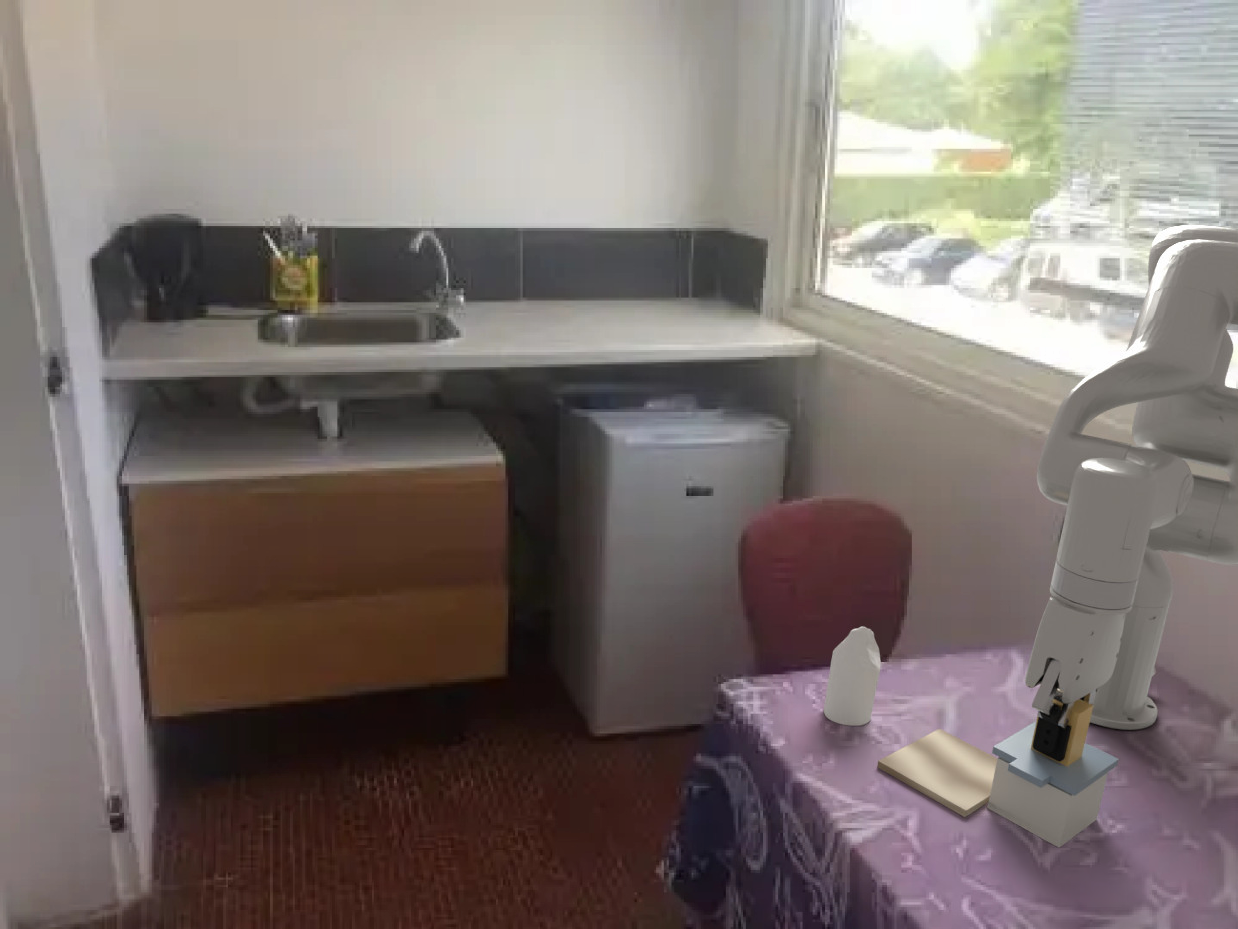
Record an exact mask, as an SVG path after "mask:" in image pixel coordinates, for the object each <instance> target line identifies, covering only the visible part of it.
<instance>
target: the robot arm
mask: <svg viewBox="0 0 1238 929" xmlns="http://www.w3.org/2000/svg"><path fill="white" fill-rule="evenodd" d="M1147 266H1148V267H1147V269H1148V270H1147V276H1148V277H1147V278H1148V280H1147V281H1148V288H1147V291H1146V294H1145V297H1144V299H1143V302H1142V305H1141V308H1140V311H1139V313H1138V316H1137V320H1136V323H1135V325H1134V328H1133V330H1132V333H1131V336H1130V339H1129V343H1128V345H1127V348H1126V350H1125V351H1124V353H1122V354H1121V355H1119V356H1116V357H1115V358H1113V359H1112V360H1109V361H1108V362H1106V363H1104V364H1102V365H1100V366H1098V367H1097V368H1096V369H1094V370H1092V371H1091V372H1090V373H1089V374H1088V375H1086V376H1085V377H1083V378H1082V379H1081V380H1080V381H1079V382H1078V383H1077V384H1075V386H1073V387H1072V389H1070V391H1069V392H1068V393H1067V394H1066V396H1065V397H1064V399H1063V400H1062V402H1061V403H1060V405H1059V406H1058V408H1057V411H1056V413H1055V416H1054V419H1053V421H1052V424H1051V425H1050V426H1051V427H1050V429H1049V432H1048V434H1047V438H1046V440H1045V442H1044V445H1043V448H1042V451H1041V453H1040V457H1039V461H1038V463H1037V464H1038V465H1037V469H1036V481H1037V482H1036V483H1037V487H1038V489H1039V491H1040V493H1041V494H1042V495H1043V496H1044V497H1045V498H1046V499H1048V500H1049V501H1051V502H1053V503H1055V504H1060V505H1063V506H1066V512H1065V516H1064V521H1063V526H1062V530H1061V531H1062V532H1061V535H1060V540H1059V544H1058V550H1057V554H1056V559H1055V565H1054V569H1053V574H1052V577H1051V578H1052V579H1051V582H1050V587H1049V592H1050V595H1051V597H1049V600H1048V602H1047V604H1046V607H1045V609H1044V612H1043V614H1042V618H1041V619H1040V623H1039V626H1038V628H1037V632H1036V636H1035V639H1034V642H1033V647H1032V651H1031V653H1030V658H1029V660H1028V661H1029V662H1028V665H1027V670H1026V674H1025V680H1024V683H1025V686H1026V687H1027V688H1029V689H1030V688H1031V689H1033V688H1035V687H1037V686H1039V687H1038V689H1037V691H1036V695H1035V696H1034V698H1033V701H1032V703H1031V707H1032V708H1033V709H1034V710H1037V716H1038V717H1039V718H1038V722H1037V727H1036V732H1035V736H1034V741H1033V748H1034V749H1035V750H1036V751H1038V752H1040V753H1042V754H1044V755H1046V756H1048V757H1050V758H1052V759H1054V760H1056V761H1059V762H1060V761H1062V760H1064V758H1065V754H1066V749H1067V745H1068V740H1069V736H1070V732H1071V726H1069V725H1068V723H1069V719H1070V715H1071V712H1072V708H1073V704H1074V701H1076V700H1078V699H1080V700H1083V701H1085V702H1087V703H1089V704H1092V705H1093V710H1092V714H1091V718H1090V723H1089V724H1094V725H1097V726H1100V727H1101V726H1102V727H1105V728H1110V729H1117V730H1129V731H1131V730H1142V729H1146V728H1148V727H1150V726H1152V725H1153V724H1154V723H1156V720H1157V717H1158V707H1157V705H1156V704H1155V703H1154V701H1153V700H1152V698H1150V697H1149V696H1148V693H1149V690H1150V685H1151V682H1152V677H1153V676H1154V675H1156V671H1157V670H1156V667H1155V665H1156V661H1157V658H1158V654H1159V649H1160V645H1161V642H1162V637H1163V633H1164V629H1165V625H1166V622H1167V616H1168V613H1169V609H1170V605H1171V601H1172V598H1173V593H1174V580H1173V576H1172V573H1171V572H1172V571H1171V570H1170V568H1169V565H1168V564H1167V562H1166V560H1165V557H1164V556H1163V554H1162V552H1161V551H1163V552H1168V553H1169V552H1170V553H1174V554H1179V555H1182V556H1186V557H1189V558H1195V559H1198V560H1202V561H1206V562H1211V563H1214V564H1215V563H1216V564H1221V565H1226V566H1237V565H1238V388H1235V387H1230V386H1227V385H1226V377H1227V375H1228V371H1229V368H1230V364H1231V362H1232V358H1233V354H1234V344H1233V340H1232V338H1231V335H1230V334H1229V331H1228V329H1227V326H1228V325H1230V324H1231V325H1232V324H1233V325H1238V228H1234V227H1223V226H1213V225H1212V226H1211V225H1199V224H1197V225H1195V224H1194V225H1190V224H1189V225H1179V226H1178V225H1177V226H1172V227H1168V228H1166V229H1164V230H1162V231H1160V232H1159V233H1158V234H1157V235H1156V236H1155V238H1154V240H1153V242H1152V244H1151V246H1150V251H1149V255H1148V265H1147ZM1132 404H1136V407H1135V412H1134V417H1133V421H1132V427H1131V432H1132V433H1131V435H1132V439H1133V442H1134V444H1135V445H1133V444H1132V443H1128V442H1127V443H1126V442H1121V441H1117V440H1112V439H1107V438H1103V437H1102V438H1101V437H1097V436H1091V435H1086V434H1082V433H1083V432H1084V430H1085V428H1086V427H1087V425H1089V424H1090V422H1091V421H1093V420H1095V419H1096V418H1097V417H1098V416H1100V415H1101V414H1104V413H1105V412H1108V411H1110V410H1113V409H1115V408H1116V409H1117V408H1119V407H1122V406H1126V405H1127V406H1128V405H1132ZM1188 463H1191V464H1196V465H1201V466H1206V467H1210V468H1211V467H1212V468H1215V469H1220V470H1222V471H1224V472H1225V473H1226V474H1227V475H1228V477H1229V481H1227V480H1224V479H1219V478H1214V477H1209V476H1205V475H1199V474H1194V473H1192V470H1191V468H1190V466H1189V465H1188ZM1057 689H1058V690H1060V691H1062V692H1060V691H1058V690H1057ZM1053 699H1055V700H1057V701H1059V702H1062V703H1064V704H1063V707H1062V710H1061V709H1060V707H1059V706H1058V705H1055V704H1053Z"/></svg>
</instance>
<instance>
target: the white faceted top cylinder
mask: <svg viewBox="0 0 1238 929" xmlns="http://www.w3.org/2000/svg"><path fill="white" fill-rule="evenodd" d="M881 663H882V662H881V655H880V648H879V645H878V644H877V641H876V639H875V633H874V631H872V629H871V628H867V627H866V626H860V627H858V628H853V629H851V630H850V632H849V633H848V635H847V636H846V637H845V638H844V640H843V641H841V642H840V643H839V644H838V645H837V646H836V647H835V648H834V649H833V651H832V657H831V661H830V666H829V668H830V669H829V673H828V674H829V675H828V680H827V687H826V694H825V700H824V705H823V713H824V715H825V717H826V718H827V719H828V720H830V721H831V722H833V723H836V724H840V725H844V726H854V727H856V726H860V727H861V726H863V725H867V724H868V723H869V722H870V721H871V720H872V719H871V718H872V713H873V708H874V704H875V697H876V692H877V688H878V682H879V678H880V673H881V665H882V664H881Z"/></svg>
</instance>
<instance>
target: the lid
mask: <svg viewBox="0 0 1238 929" xmlns="http://www.w3.org/2000/svg"><path fill="white" fill-rule="evenodd" d="M1057 690H1058V689H1057ZM1058 691H1060V690H1058ZM1060 692H1062V691H1060ZM1053 704H1055V705H1058V706H1059V707H1060V709H1061V710H1062V707H1063V704H1064V703H1062V702H1059V701H1057V700H1055V699H1053ZM1092 710H1093V705H1092V704H1089V703H1087V702H1085V701H1083V700H1080V699H1078V700H1076V701H1074V704H1073V708H1072V712H1071V715H1070V719H1069V723H1068V725H1069V726H1071V732H1070V736H1069V740H1068V745H1067V749H1066V754H1065V758H1064V760H1062V761H1060V762H1059V761H1056V760H1054V759H1052V758H1050V757H1048V756H1046V755H1044V754H1042V753H1040V752H1038V751H1036V750H1035V749H1034V748H1033V741H1034V736H1035V732H1036V727H1037V722H1038V718H1039V717H1038V715H1037V718H1036V721H1033V722H1032V723H1031V724H1029V725H1027V726H1025V727H1024V728H1022V729H1020V730H1019V731H1016V732H1015V733H1013V734H1012V735H1010V736H1009V737H1006V738H1005V739H1004V740H1001V741H1000V742H999V743H997V744H995V745H993V748H992V751H991V752H992V753H991V754H993V755H995V756H996V757H998V758H999V757H1000V758H1002V759H1004V760H1006V761H1008V762H1010V764H1009V767H1008V771H1009V772H1011V773H1013V774H1015V775H1017V776H1019V777H1021V778H1023V779H1025V780H1027V781H1028V782H1030V783H1032V784H1034V785H1036V786H1038V787H1040V788H1042V787H1043V786H1045V785H1046V784H1048V783H1051V784H1053V785H1055V786H1057V787H1059V788H1061V789H1063V790H1064V791H1066V792H1068V793H1070V794H1072V795H1074V796H1075V795H1077V794H1078V793H1080V792H1081V791H1082V790H1084V789H1085V788H1087V787H1088V786H1089V785H1091V784H1092V783H1094V782H1095V781H1096V780H1098V779H1099V778H1101V777H1102V776H1104V775H1105V774H1106V773H1108V774H1109V772H1111V771H1112V770H1113V769H1114V768H1116V767H1118V764H1119V760H1120V759H1119V758H1118V757H1115V756H1113V755H1111V754H1109V753H1107V752H1105V751H1103V750H1101V749H1099V748H1096V747H1095V746H1092V745H1090V744H1089V743H1086V741H1087V735H1088V732H1089V726H1090V724H1091V723H1090V718H1091V714H1092Z"/></svg>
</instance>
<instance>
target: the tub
mask: <svg viewBox="0 0 1238 929" xmlns="http://www.w3.org/2000/svg"><path fill="white" fill-rule="evenodd" d="M997 758H998V759H997V763H996V768H995V773H994V778H993V783H992V788H991V792H990V797H989V802H988V803H987V807H986V808H987V809H989V810H990V811H992V812H994V813H996V814H997V815H999V816H1001V817H1003V818H1004V819H1006V820H1008V821H1010V822H1012V823H1014V824H1015V825H1018V826H1019V827H1021V828H1023V829H1025V830H1026V831H1028V832H1030V833H1031V834H1033V835H1035V836H1036V837H1039V838H1041V839H1043V840H1044V841H1046V842H1048V843H1050V844H1051V845H1053V846H1055V847H1057V848H1061V847H1062V846H1063V845H1065V844H1066V843H1067V842H1069V841H1071V839H1073V838H1074V837H1075V836H1077V835H1079V833H1081V832H1082V831H1084V830H1086V829H1087V828H1088V827H1089V826H1091V825H1092V824H1093V823H1094V822H1096V821H1097V820H1098V816H1099V812H1100V808H1101V804H1102V799H1103V797H1104V796H1103V795H1104V792H1105V788H1106V782H1107V778H1108V776H1109V772H1108V773H1106V774H1105V775H1104V776H1102V777H1101V778H1099V779H1098V780H1096V781H1095V782H1094V783H1092V784H1091V785H1089V786H1088V787H1087V788H1085V789H1084V790H1082V791H1081V792H1080V793H1078V794H1077V795H1075V796H1074V795H1072V794H1070V793H1068V792H1066V791H1064V790H1063V789H1061V788H1059V787H1057V786H1055V785H1053V784H1051V783H1048V784H1046V785H1045V786H1043V787H1042V788H1040V787H1038V786H1036V785H1034V784H1032V783H1030V782H1028V781H1027V780H1025V779H1023V778H1021V777H1019V776H1017V775H1015V774H1013V773H1011V772H1009V771H1008V767H1009V764H1010V762H1008V761H1006V760H1004V759H1002V758H1000V757H999V756H998V757H997Z"/></svg>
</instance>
